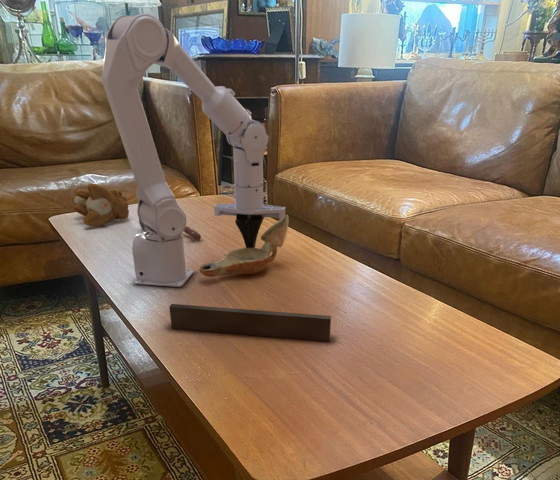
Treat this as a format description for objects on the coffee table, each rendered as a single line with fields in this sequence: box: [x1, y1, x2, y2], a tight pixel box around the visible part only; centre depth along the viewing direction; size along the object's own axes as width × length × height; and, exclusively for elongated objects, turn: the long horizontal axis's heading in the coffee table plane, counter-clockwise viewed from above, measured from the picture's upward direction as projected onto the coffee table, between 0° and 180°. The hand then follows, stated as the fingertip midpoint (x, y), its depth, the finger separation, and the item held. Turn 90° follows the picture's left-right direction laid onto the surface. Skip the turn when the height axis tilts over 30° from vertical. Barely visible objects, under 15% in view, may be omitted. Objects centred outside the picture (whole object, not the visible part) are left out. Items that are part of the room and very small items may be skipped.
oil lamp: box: [198, 214, 290, 278], centre depth 110 cm, size 9×21×10 cm, turn 126°
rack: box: [168, 303, 332, 343], centre depth 88 cm, size 26×1×4 cm, turn 80°
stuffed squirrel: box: [72, 183, 130, 226], centre depth 143 cm, size 10×14×13 cm
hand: (250, 250), depth 116 cm, fingers closed
